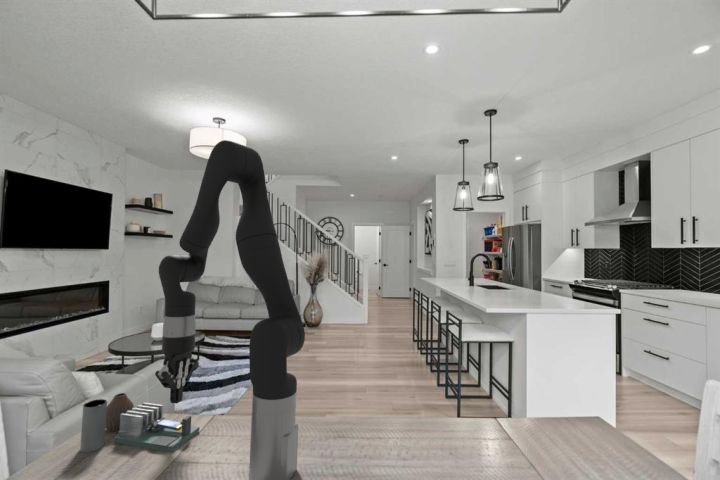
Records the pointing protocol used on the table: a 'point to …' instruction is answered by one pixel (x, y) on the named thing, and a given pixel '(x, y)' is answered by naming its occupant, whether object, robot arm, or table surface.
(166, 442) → the board
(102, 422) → the planter
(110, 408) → the vase
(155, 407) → the heatsink
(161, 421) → the blue-grey flat piece
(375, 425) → the table surface
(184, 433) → the block
